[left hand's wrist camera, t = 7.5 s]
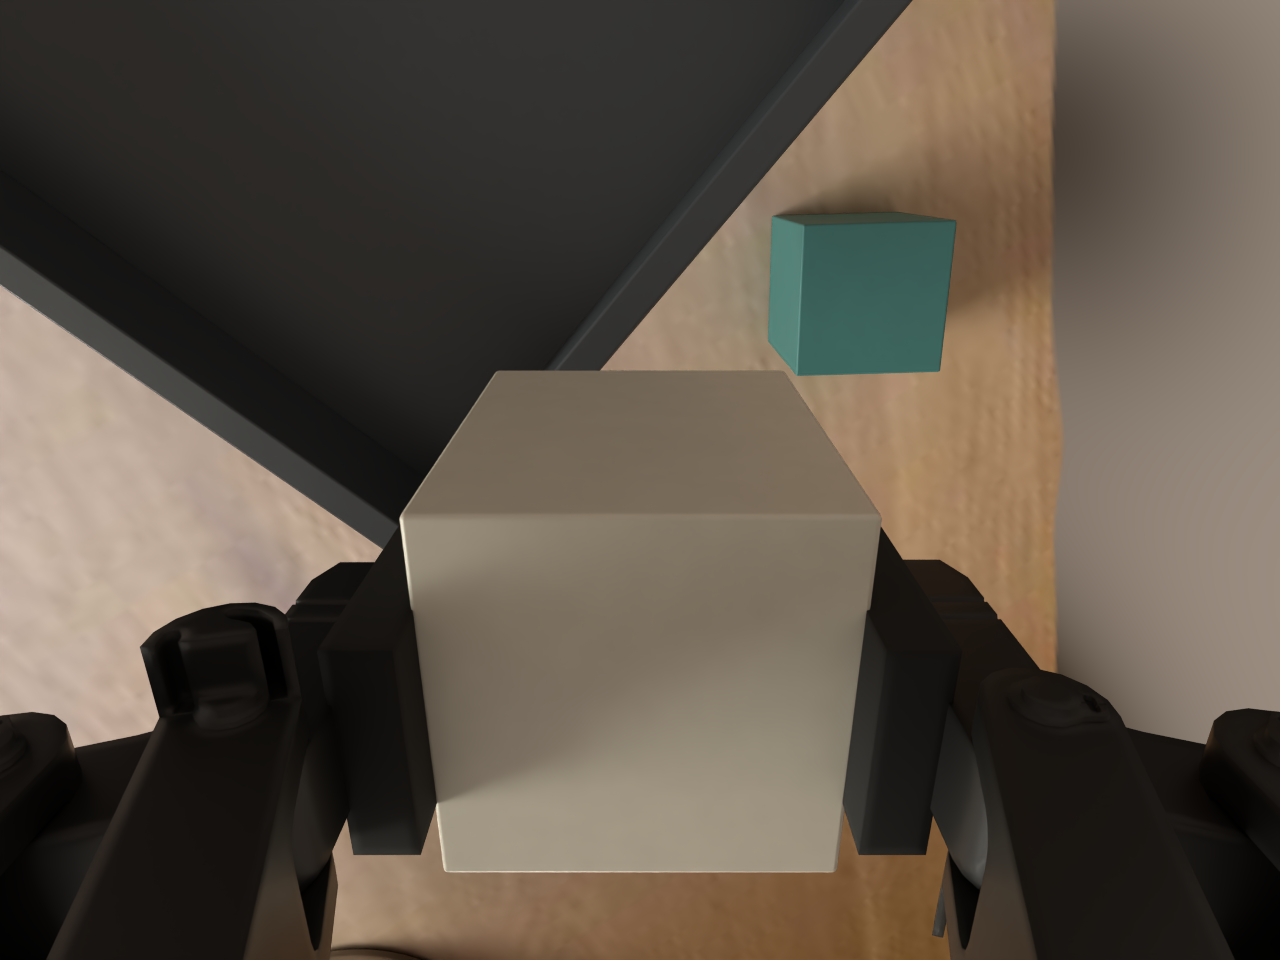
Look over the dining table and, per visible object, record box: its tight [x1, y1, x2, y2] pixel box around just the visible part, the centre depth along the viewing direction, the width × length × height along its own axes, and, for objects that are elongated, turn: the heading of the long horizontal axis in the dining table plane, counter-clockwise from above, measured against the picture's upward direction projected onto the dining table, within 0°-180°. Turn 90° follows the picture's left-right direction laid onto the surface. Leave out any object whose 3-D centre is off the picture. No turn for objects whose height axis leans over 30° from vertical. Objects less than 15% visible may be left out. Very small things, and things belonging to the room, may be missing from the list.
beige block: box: [400, 371, 882, 872], centre depth 12 cm, size 5×5×6 cm
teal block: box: [768, 212, 956, 376], centre depth 29 cm, size 5×5×6 cm
